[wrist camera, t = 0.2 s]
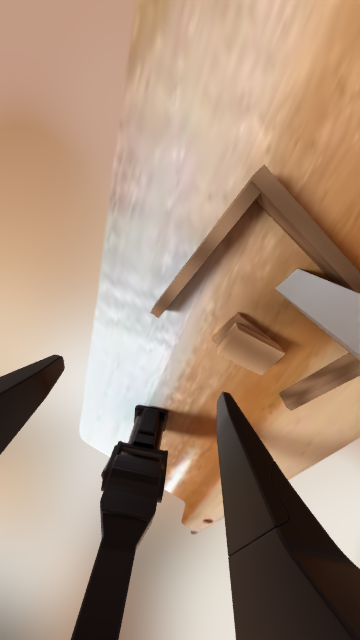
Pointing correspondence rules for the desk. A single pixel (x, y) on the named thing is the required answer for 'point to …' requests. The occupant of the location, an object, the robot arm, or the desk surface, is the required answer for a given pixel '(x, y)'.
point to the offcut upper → (249, 349)
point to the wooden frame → (310, 241)
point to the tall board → (326, 307)
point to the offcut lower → (242, 321)
